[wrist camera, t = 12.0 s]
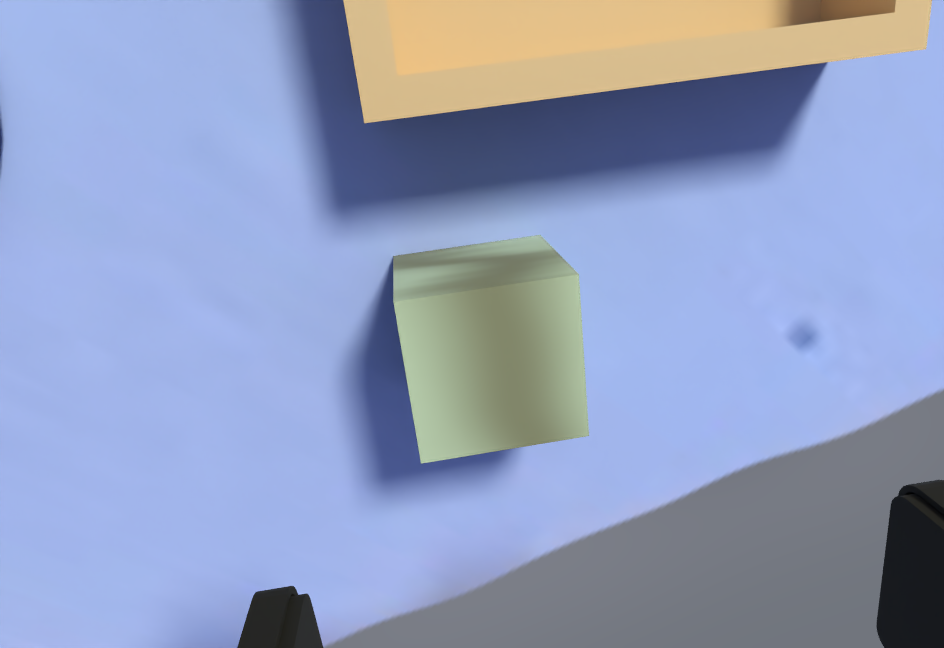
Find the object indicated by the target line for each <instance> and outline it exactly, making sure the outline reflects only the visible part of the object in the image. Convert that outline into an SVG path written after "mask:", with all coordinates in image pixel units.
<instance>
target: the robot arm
mask: <svg viewBox="0 0 944 648" xmlns="http://www.w3.org/2000/svg"><path fill="white" fill-rule="evenodd" d="M877 632H878V635H879V638H880V641H881V642H882V644H883V646H884V648H944V480H935V481H929V482H923V483H917V484H911V485H906V486H903V488H901V490H900V491H899V495H898V496H897V497H895V498H894V499H893V500H892V503H891V510H890V518H889V526H888V534H887V542H886V550H885V559H884V567H883V575H882V583H881V592H880V600H879V609H878V617H877ZM237 648H323V645H322V641H321V637H320V634H319V630H318V626H317V622H316V618H315V615H314V611H313V607H312V603H311V600H310V597H309V595H308V594H301V595H298V593H297V591H296V589H295V587H294V586H289V587H283V588H277V589H270V590H264V591H258V592H256V593H255V594H254V596H253V598H252V601H251V605H250V608H249V611H248V614H247V618H246V621H245V624H244V628H243V631H242V634H241V638H240V641H239V644H238V647H237Z"/></svg>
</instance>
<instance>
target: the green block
mask: <svg viewBox="0 0 944 648" xmlns="http://www.w3.org/2000/svg"><path fill="white" fill-rule="evenodd" d="M393 302H394V308H395V314H396V320H397V326H398V332H399V337H400V343H401V349H402V355H403V361H404V367H405V372H406V378H407V384H408V390H409V396H410V402H411V408H412V413H413V419H414V425H415V431H416V437H417V443H418V448H419V454H420V460H421V464H422V463H428V462H434V461H440V460H446V459H452V458H458V457H464V456H470V455H476V454H482V453H488V452H494V451H500V450H506V449H512V448H518V447H525V446H531V445H537V444H543V443H549V442H555V441H561V440H567V439H573V438H579V437H585V436H589V430H588V414H587V398H586V382H585V366H584V350H583V335H582V319H581V303H580V287H579V274H578V273H577V272H576V271H575V270H574V269H573V268H572V267H571V266H570V265H569V264H568V263H567V262H566V261H565V260H564V259H563V258H562V257H561V256H560V255H559V254H558V253H557V252H556V251H555V250H554V249H553V248H552V247H551V246H550V244H549V243H548V242H547V241H546V240H545V239H544V238H543V237H542V236H541V235H536V236H529V237H522V238H515V239H508V240H502V241H495V242H488V243H481V244H474V245H467V246H460V247H453V248H446V249H439V250H432V251H425V252H418V253H412V254H405V255H398V256H393Z"/></svg>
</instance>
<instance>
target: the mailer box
mask: <svg viewBox="0 0 944 648" xmlns="http://www.w3.org/2000/svg"><path fill="white" fill-rule="evenodd" d="M343 1H344V7H345V13H346V19H347V24H348V30H349V36H350V42H351V48H352V54H353V59H354V65H355V71H356V77H357V83H358V89H359V95H360V100H361V106H362V112H363V118H364V123H370V122H378V121H385V120H393V119H400V118H408V117H415V116H423V115H431V114H438V113H446V112H453V111H461V110H468V109H476V108H484V107H491V106H499V105H506V104H514V103H521V102H529V101H537V100H544V99H552V98H559V97H567V96H574V95H582V94H590V93H597V92H605V91H612V90H620V89H627V88H635V87H643V86H650V85H658V84H665V83H673V82H680V81H688V80H696V79H703V78H711V77H718V76H726V75H733V74H741V73H749V72H756V71H764V70H771V69H779V68H786V67H794V66H802V65H809V64H817V63H824V62H832V61H839V60H847V59H855V58H862V57H870V56H877V55H885V54H892V53H900V52H908V51H915V50H923V49H926V46H927V37H928V29H929V20H930V12H931V4H932V0H343Z"/></svg>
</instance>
